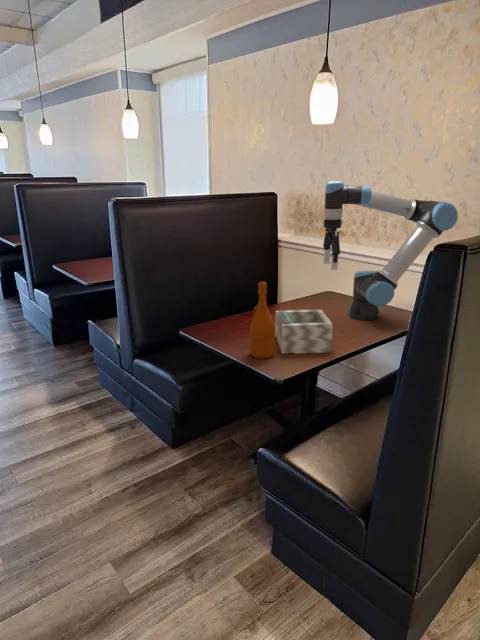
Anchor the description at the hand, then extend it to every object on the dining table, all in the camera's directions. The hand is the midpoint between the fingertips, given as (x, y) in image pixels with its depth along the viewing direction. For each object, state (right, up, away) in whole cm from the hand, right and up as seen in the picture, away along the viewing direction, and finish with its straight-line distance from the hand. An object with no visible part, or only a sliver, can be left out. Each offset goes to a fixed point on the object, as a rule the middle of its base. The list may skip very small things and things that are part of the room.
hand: (330, 266), depth 195 cm
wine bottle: (-32, -38, -22) cm, 54 cm away
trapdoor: (-18, -28, -14) cm, 36 cm away
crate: (-14, -34, -11) cm, 39 cm away
